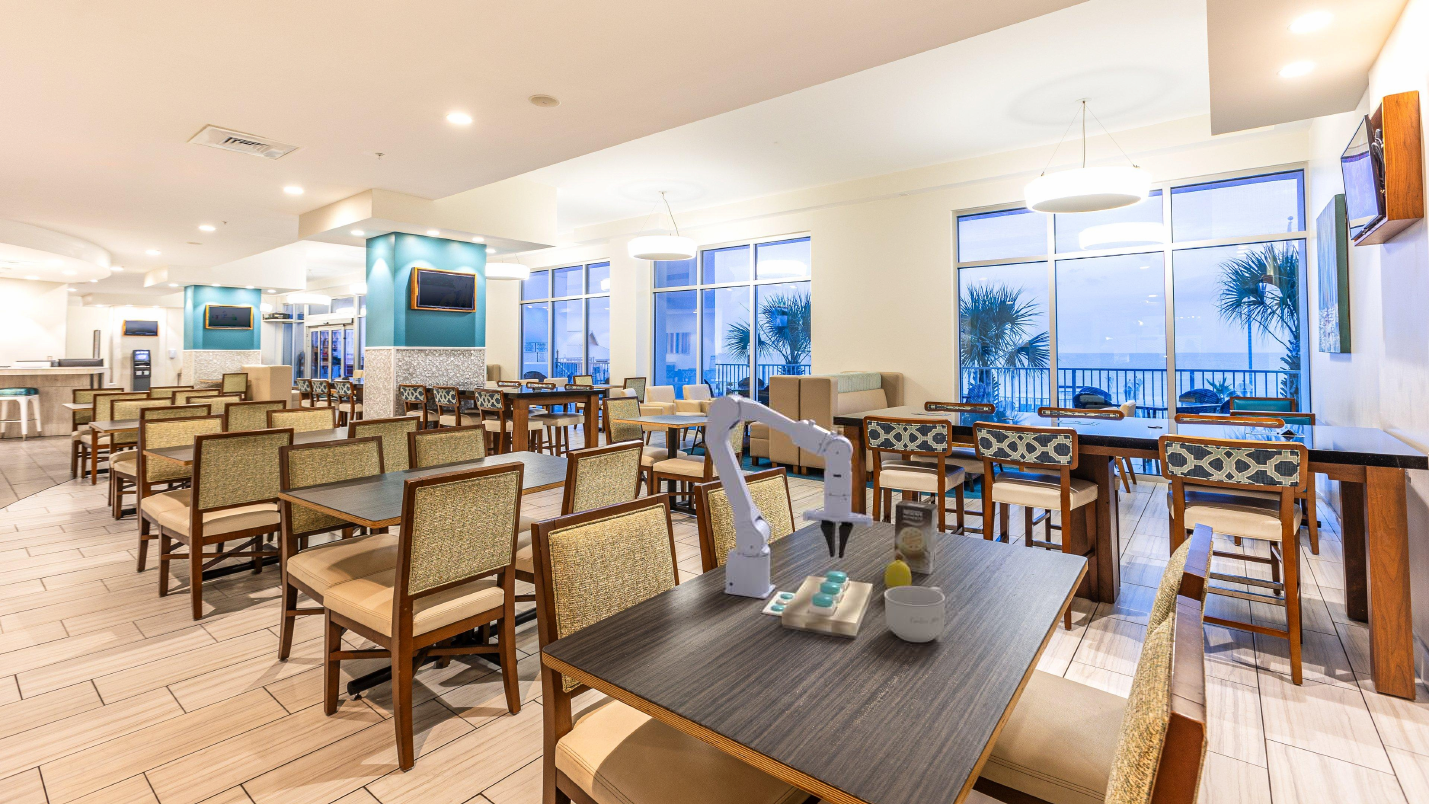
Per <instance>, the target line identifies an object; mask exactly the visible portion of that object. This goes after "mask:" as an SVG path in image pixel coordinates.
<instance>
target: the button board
mask: <svg viewBox="0 0 1429 804" xmlns="http://www.w3.org/2000/svg"><path fill="white" fill-rule="evenodd" d="M806 577H807V578H806V579H805V580H804V582H803V583H802V585H801V586H800V587H799V588H798V589H797V591H796V592H795V595H794V596H793V598H792V599H791V600H790V602H789V603H788V604H787V606H786V607H785V609H784V610H783V611H782V616H781V627H782V628H784V629H791V630H796V631H797V630H798V631H802V632H803V631H804V632H808V633H809V632H810V633H815V634H821V635H828V636H834V637H838V638H840V637H841V638H845V639H852V640H856V639H857V637H858V634H859V632H860V629H861V628H862V627H861V626H862V624H863V623H864V622H863V621H864V619H865V616H866V614H867V612H868V609H869V607H870V604H871V601H872V600H873V589H874V588H873V585H874V584H873V583H868V582H859V581H853V580H852V581H851V580H849V587H848V589H847V591H843V598H842V600H841V602H840V603H836V612H835V614H834V616H826V615H820V614H813V613H809V605H810V603H811V602H812V596H813V595H814V594H817V592H818V591H819V589H820V584H821V583H822V582H824V581H825V580H826V578H827V577H821V576H812V575H808V576H806Z"/></svg>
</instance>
